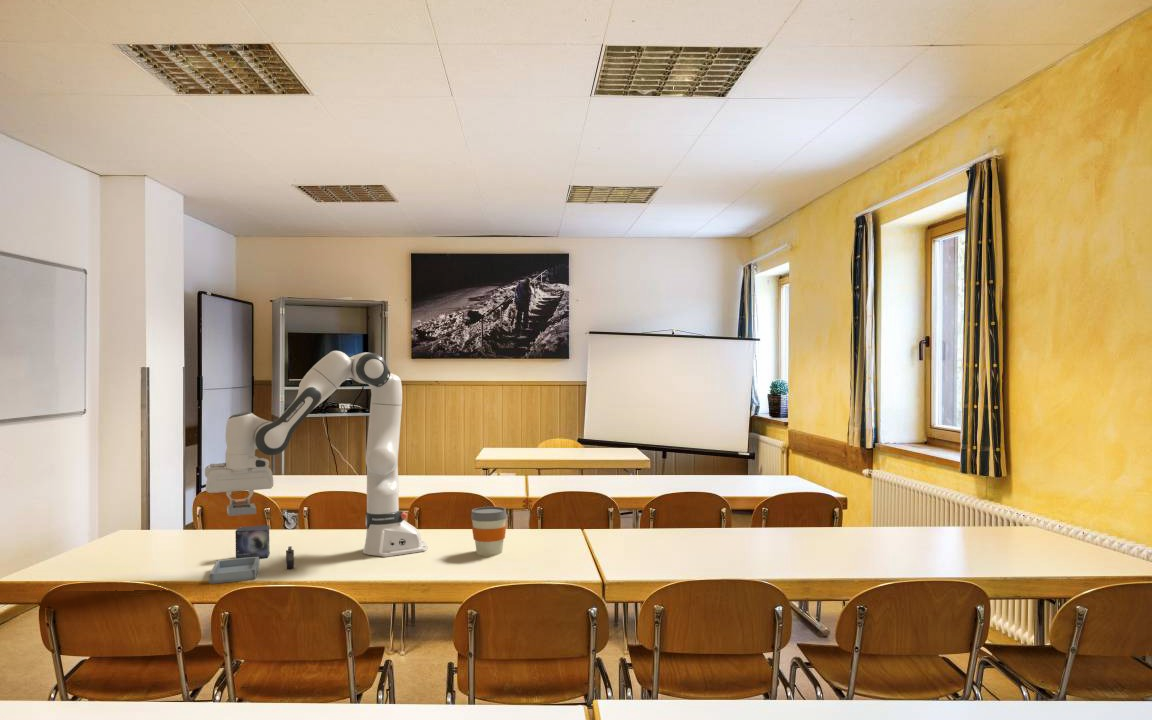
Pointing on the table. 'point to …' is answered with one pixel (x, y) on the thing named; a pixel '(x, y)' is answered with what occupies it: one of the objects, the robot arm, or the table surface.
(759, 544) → the table surface
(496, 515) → the reusable coffee cup
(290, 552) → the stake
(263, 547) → the small box
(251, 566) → the tray
